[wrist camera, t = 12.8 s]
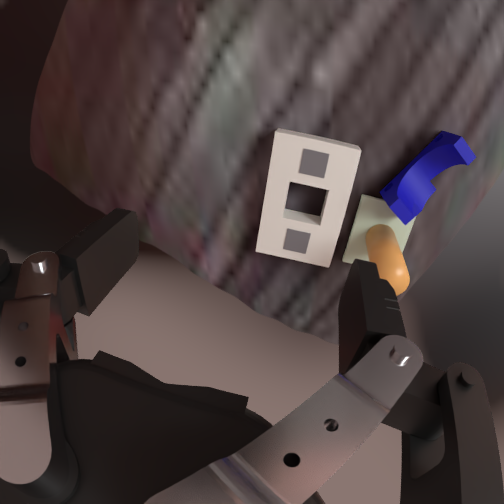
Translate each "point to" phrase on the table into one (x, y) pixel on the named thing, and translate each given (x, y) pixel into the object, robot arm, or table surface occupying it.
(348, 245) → the mat
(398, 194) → the cable clip
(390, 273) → the plug
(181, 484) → the robot arm
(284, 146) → the white slab with hole
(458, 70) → the table surface
